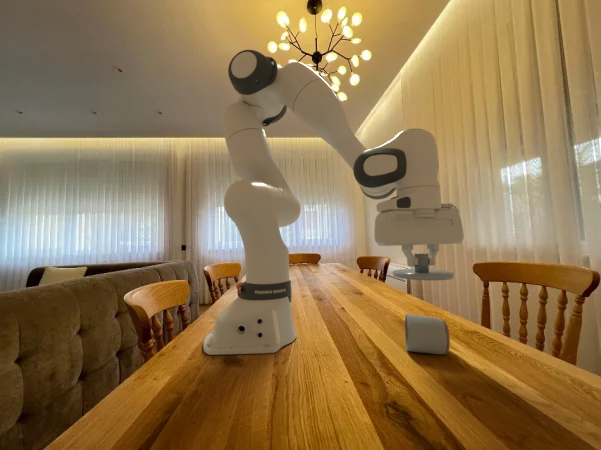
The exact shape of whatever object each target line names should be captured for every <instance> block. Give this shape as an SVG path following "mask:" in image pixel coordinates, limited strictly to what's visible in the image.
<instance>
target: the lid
mask: <svg viewBox="0 0 601 450" xmlns="http://www.w3.org/2000/svg"><path fill="white" fill-rule="evenodd" d="M413 255H414V257H415V258H418V266H414V268H402V269H394V270H392V276H393V277H394V278H398V279H403V280H413V281H447V280H448V281H449V280H452V279H455V273H454V272H452V271H449V270H442V269H432V268H431V269H430V266H429V262H428V253H425V252H422V253H413Z"/></svg>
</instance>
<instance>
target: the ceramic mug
mask: <svg viewBox="0 0 601 450" xmlns="http://www.w3.org/2000/svg"><path fill="white" fill-rule="evenodd" d="M449 330H450V329H449V326H448V323H447V321H445V320H444V319H441V318H438V317H433V316H425V315H419V314H413V313H405V317H404V340H405V349H406V351H407V352H412V353H413V352H415V353H422V354H423V353H424V354H431V355H432V354H433V355H447V354H448V353H449V351H450V347H451V340H450V331H449Z"/></svg>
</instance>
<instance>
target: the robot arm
mask: <svg viewBox="0 0 601 450" xmlns="http://www.w3.org/2000/svg"><path fill="white" fill-rule="evenodd" d="M227 73H228V77H229V81H230V83H231V85H232V87H233V89H234V90H235V91H236V92H237V93H238V95H239V99H237V100H238V101H234V102H231V103H229V104H228V105H227V106H226V107H225V108H224V109H223V111H222V117H221V118H222V129H223V135H224V140H225V144H226V147H227V151H228V154H229V157H230V161H231V164H232V168H233V171H234V173H235V174H236V176H237V177H238V178H240V180H236V181H234V182H233V183H231V184H230V186H228V188H227V189H226V191H225V194H224V199H223V206H224V210H225V212H226V214H227V216H228V218H229V219H231V220H232V222H233V223H234V224H235V227H236V228H237V230H238V233H239V235H240V237H241V241H242V245H243V250H244V256H245V257H244V262H245V281H244V282H243V281H238V282H237V283H236V286H235V287H236V290H237V298H236V299H234V300H233V301H231V303H229V304H228V305H227V306H226V307H225V308H223V309H222V310H221V311H220V312H219V314H217V317H216V319H215V321H214V326H213V330H211V331H210V332H209V333H208V334H207V335H206V336H205V338H204V340H203V347H202V349H203V352H204V353H206V354H207V355H215V356H216V355H247V354H274V353H277V352H278V351H280V349H281V348H283V347H284V346H286V345H289V344H290V343H293V342H294V340H296V338H297V332H296V328H295V324H294V319H293V314H292V313H293V312H292V305H291V302H292V297H293V295H292V294H293V293H292V289H293V288H292V281H291V279H290V252H289V248H288V246H287V245H286V244H285V242H284V240H283V238H282V235H281V232H280V228H284V227H288V226H291V225H292V224H294V223H295V222H296V221H298V218H299V217H300V214H301V211H302V210H301V203H300V200H299V199H298V198H297V197H296V195H295V194H294V193H293V191H292V190H291V188H290V187H289V184H288V182H287V181H286V179H285V177H284V175H283V174H282V171H281V170H280V169H279V166H278V165H277V163H276V160H275V158H274V155H273V152H272V149H271V147H270V144H269V141H268V138H267V135H266V131H265V129H264V127H269V126H270V125H271V124H274V123H277V122H278V121H279V120H281V119H282V118H283V117H284V115H286V113H287V110H288V109H289V110H290V111H291V112H292V113H293V114H294V116H295V118H297V119H298V120H299V121H300V122H301V123H302V124H303V125H304V126H305V127H306V128H308V129H309V131H311V132H312V133H314V134H315V135H316V136H318V137H319V138H320V139H322V140H323V141H324V142H326V143H327V144H328V145H329V146H331V148H332V149H334V150H335V151H336V152H337V153H338V154H339V156H341V158H342V159H343V160H344V161H345V162H346V163H347V165H348V166H349V167H350V168H351V169H352V171H353V176H354V178H355V179H354V180H355V181H356V182H357V184H358V185H359V187H360V190H361V192H362V193H363V195H364V196H366V198H370V199H372V200H383V201H381V202H378V203H377V204H376V211H377V212H378V213H377V214H376V217H375V220H374V241H375V243H376V244H377V246H380V247H384V246H385V247H387V246H389V247H392V246H401V251H402V253H403V255H404V257H406V262H407V263H406V264H407V267H411V268H412V267H414V268H415V266H418V258H415V257H414V253H413V251H414V246H418V245H419V246H420V245H421V246H422V245H423V246H424V245H426V249H427V250H428V251H427V254H428V262H429V267H430V266H435V265H436V256H437V255H438V253H439V250H440V245H453V244H456V245H458V244H461V243H462V242H463V241H464V239H465V237H464V229H463V223H462V218H461V215H460V212H459V208H457V206H455V205H454V203H442V201H441V200H442V199H441V186H440V185H441V184H440V182H439V179H438V178H439V177H438V172H439V170H440V169H439V168H440V164H439V153H438V146H437V141H436V139H435V136H434V135H433V134H432V132H430V131H428V130H426V129H422V128H408V129H403V130H402V131H400V132H398V133H397V134H396V135H395V136H394V137H393V138H392V139H390V140H388V141H387V142H385V143H383V144H381V145H379V146H376V147H373V148H369V149H367V148H366V146H364V144H363V143H362V142H361V141H360V140H359V139H358V137H357V136H356V135H355V134H354V131H353V130H352V127H351V126H350V124H349V121H348V119H347V116H346V113H345V111H344V108H343V106H342V103H341V101H340V100H339V98H338V96H337V95H336V93H335V92H334V90H333V88H331V86H330V85H329V84H328V82H327V81H325V80H324V79H323V77H322V76H320V75H319V74H318V72H316V71H314V69H312V68H311V67H310V66H307V65H306V64H304V63H303V62H300V61H296V60H295V61H290V62H288V63H286V64H285V65H284V66H283V67H278V63H277V60H276V59H275V58H273V57H272V56H268V55H267V56H266V55H264V54H263V53H262V52H259V51H258V50H254V49H243V50H241V51H238V53H236V54H235V55H234V56H233V57H232V59H231V60H230V62H229V65H228V68H227ZM395 191H396V196H393V197H391V198H389V199H386V198H388V197H390V196H391V195H393V193H395ZM384 199H386V200H384Z"/></svg>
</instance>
